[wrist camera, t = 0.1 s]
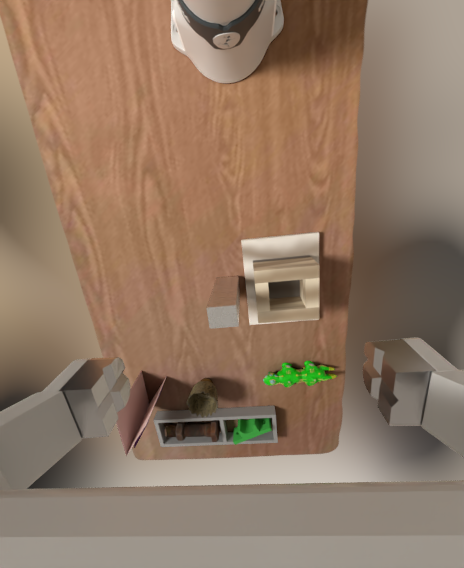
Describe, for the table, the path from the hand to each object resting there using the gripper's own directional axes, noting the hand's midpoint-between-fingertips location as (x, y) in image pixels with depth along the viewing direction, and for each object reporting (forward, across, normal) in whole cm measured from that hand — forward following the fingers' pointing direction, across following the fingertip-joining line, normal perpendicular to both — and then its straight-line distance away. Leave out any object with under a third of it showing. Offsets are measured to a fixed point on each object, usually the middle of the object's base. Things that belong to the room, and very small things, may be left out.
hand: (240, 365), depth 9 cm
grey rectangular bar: (+48, +5, +14) cm, 50 cm away
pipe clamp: (+48, +4, +55) cm, 73 cm away
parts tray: (+48, +13, +55) cm, 74 cm away
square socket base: (+48, -7, +14) cm, 51 cm away
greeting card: (+48, +30, +41) cm, 70 cm away
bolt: (+48, +20, +56) cm, 76 cm away
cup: (+48, +14, +41) cm, 65 cm away
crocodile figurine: (+48, -10, +39) cm, 63 cm away
